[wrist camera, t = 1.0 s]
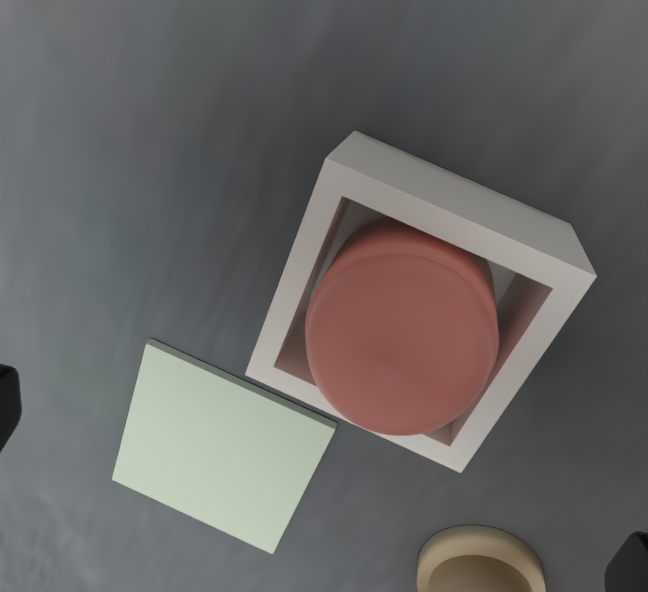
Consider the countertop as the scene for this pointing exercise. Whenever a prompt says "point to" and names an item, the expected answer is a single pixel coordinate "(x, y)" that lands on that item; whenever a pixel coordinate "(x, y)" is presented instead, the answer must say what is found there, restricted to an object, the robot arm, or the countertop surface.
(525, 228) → the housing
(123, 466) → the pad
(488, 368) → the pink rounded piece
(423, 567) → the pawn
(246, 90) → the countertop surface
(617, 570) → the robot arm
